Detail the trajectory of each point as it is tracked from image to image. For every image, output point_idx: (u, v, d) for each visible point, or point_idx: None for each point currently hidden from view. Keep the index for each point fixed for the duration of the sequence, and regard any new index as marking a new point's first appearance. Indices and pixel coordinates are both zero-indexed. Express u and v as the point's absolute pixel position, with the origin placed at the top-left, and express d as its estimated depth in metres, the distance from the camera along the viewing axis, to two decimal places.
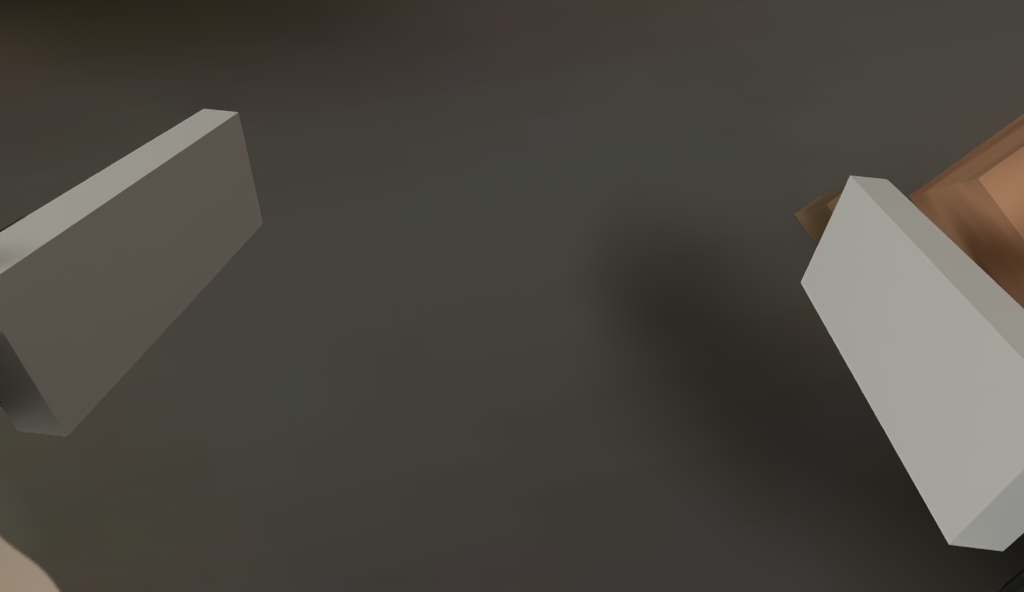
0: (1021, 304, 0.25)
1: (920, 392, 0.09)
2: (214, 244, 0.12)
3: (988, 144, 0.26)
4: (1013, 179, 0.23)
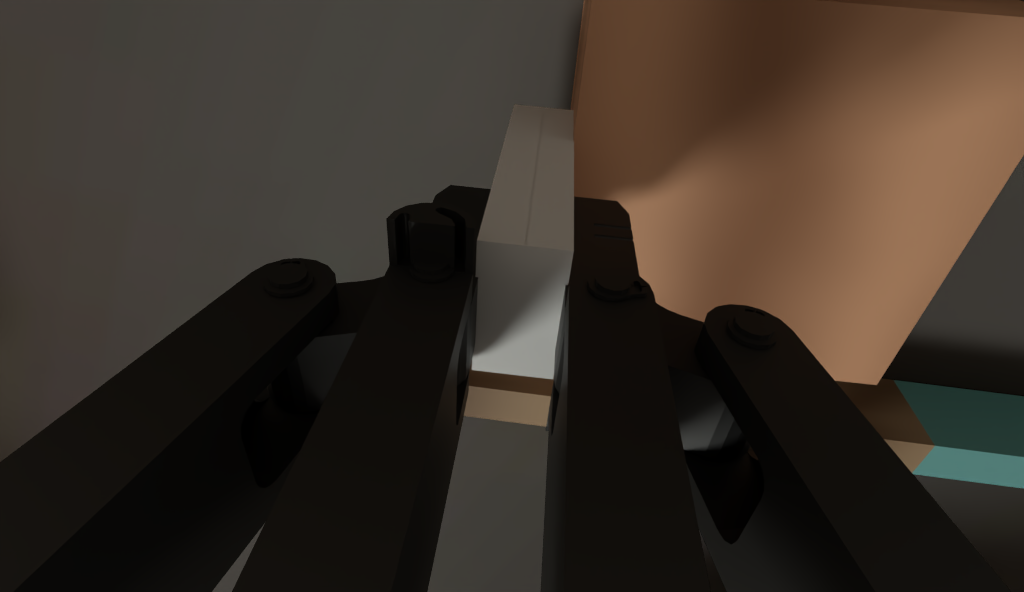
0: None
1: None
2: None
3: None
4: None
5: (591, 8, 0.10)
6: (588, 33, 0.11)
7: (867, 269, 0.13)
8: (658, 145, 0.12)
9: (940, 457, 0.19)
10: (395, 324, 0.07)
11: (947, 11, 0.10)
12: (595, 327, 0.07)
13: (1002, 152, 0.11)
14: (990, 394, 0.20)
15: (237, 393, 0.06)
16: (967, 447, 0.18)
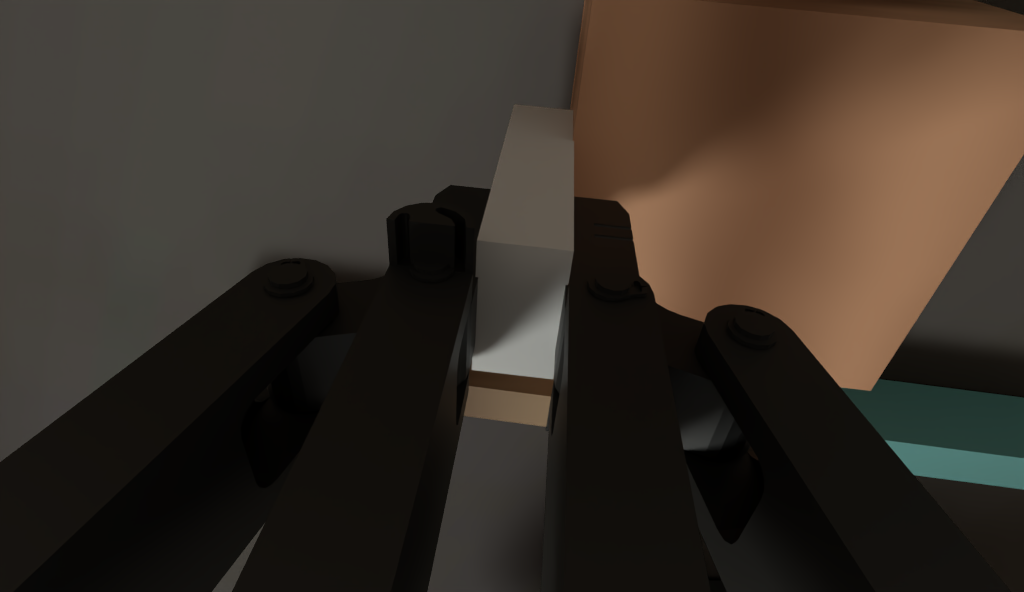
0: None
1: None
2: None
3: None
4: None
5: (590, 16, 0.11)
6: (587, 41, 0.11)
7: (863, 276, 0.13)
8: (656, 152, 0.12)
9: None
10: (395, 324, 0.07)
11: (942, 23, 0.10)
12: (595, 327, 0.07)
13: (995, 162, 0.11)
14: None
15: (237, 393, 0.06)
16: None
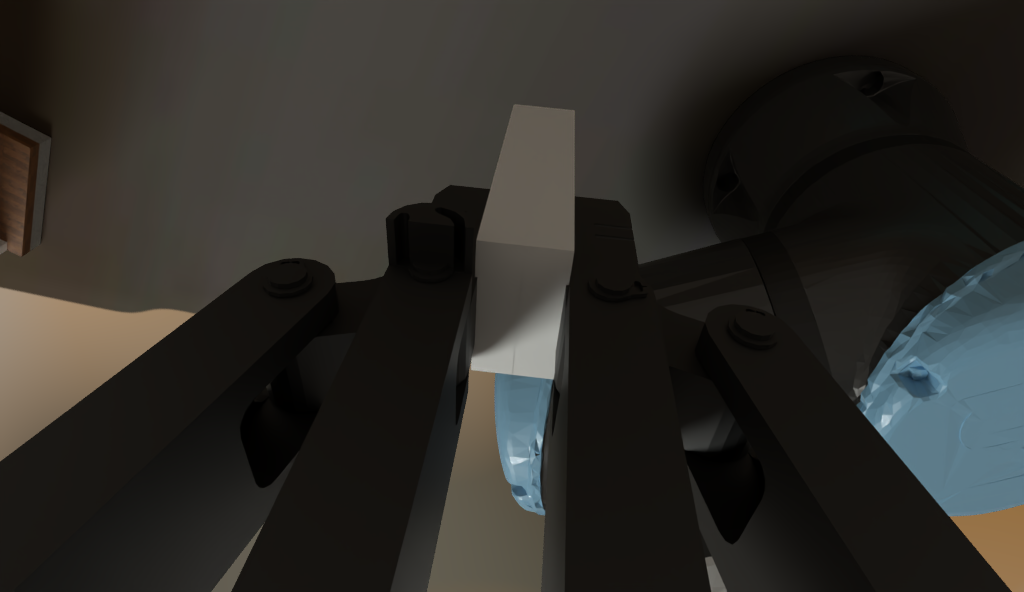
0: None
1: None
2: None
3: None
4: None
5: None
6: None
7: None
8: None
9: None
10: (394, 324, 0.07)
11: None
12: (595, 327, 0.07)
13: None
14: None
15: (236, 393, 0.06)
16: None
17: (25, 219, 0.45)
